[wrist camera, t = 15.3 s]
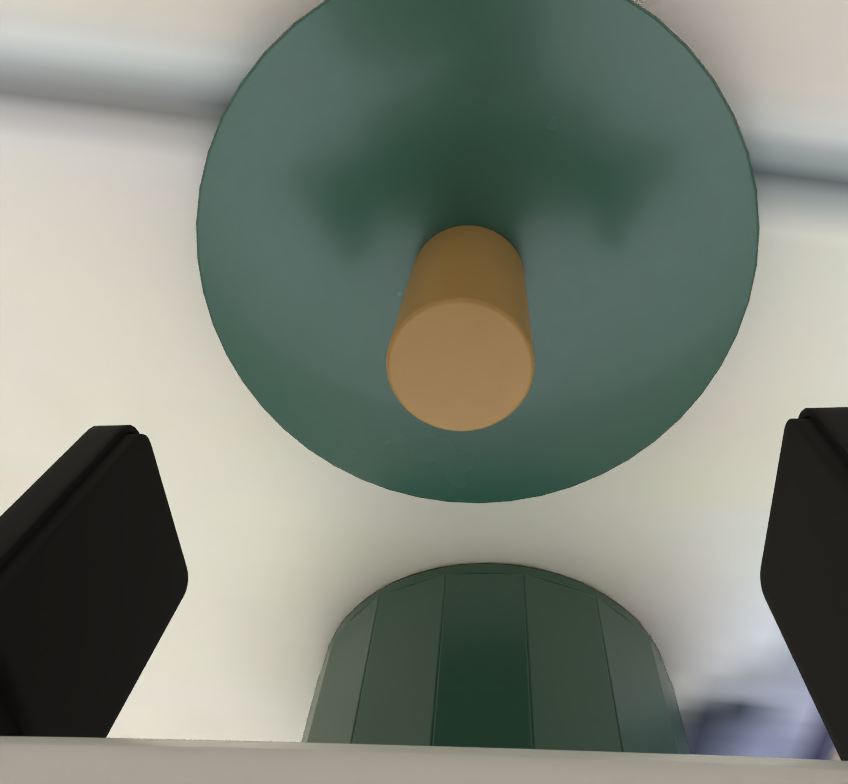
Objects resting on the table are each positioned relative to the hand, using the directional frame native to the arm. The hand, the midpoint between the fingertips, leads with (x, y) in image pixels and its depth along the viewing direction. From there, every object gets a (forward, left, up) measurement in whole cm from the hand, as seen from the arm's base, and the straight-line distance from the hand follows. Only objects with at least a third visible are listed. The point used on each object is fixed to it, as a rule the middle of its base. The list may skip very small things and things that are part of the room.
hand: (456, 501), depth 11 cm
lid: (-1, 0, -9) cm, 9 cm away
